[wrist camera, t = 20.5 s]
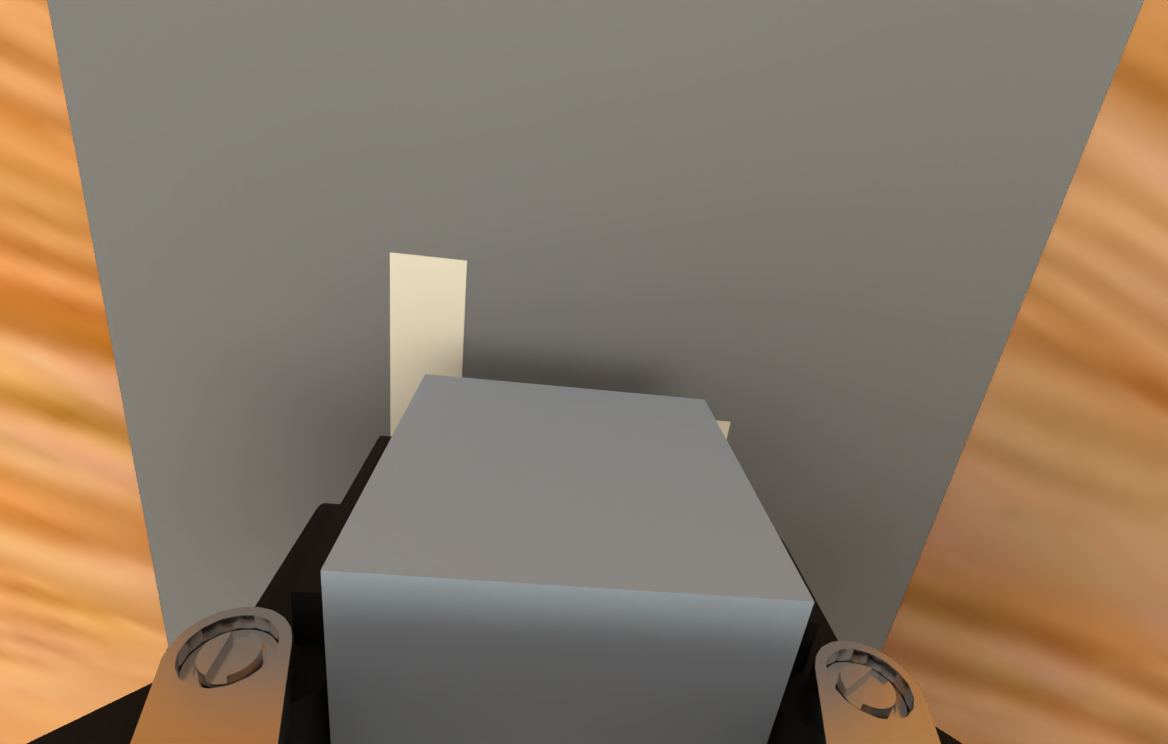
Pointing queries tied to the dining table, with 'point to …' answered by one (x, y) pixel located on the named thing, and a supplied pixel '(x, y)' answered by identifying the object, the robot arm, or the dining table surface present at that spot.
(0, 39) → the dining table surface
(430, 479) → the cube
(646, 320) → the letter mat
